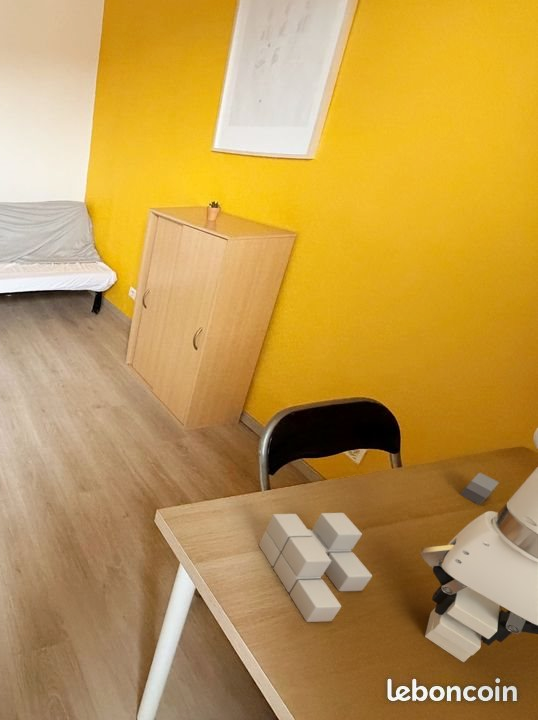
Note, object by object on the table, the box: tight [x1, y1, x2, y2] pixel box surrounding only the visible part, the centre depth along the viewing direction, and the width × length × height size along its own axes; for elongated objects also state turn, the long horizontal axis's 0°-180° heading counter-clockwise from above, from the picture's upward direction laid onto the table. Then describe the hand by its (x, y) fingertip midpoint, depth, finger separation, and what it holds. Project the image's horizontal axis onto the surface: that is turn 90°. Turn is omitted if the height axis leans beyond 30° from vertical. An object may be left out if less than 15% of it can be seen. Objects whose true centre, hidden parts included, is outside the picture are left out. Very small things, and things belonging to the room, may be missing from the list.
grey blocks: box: [460, 472, 500, 506], centre depth 80 cm, size 5×3×4 cm, turn 116°
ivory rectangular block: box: [424, 607, 482, 663], centre depth 58 cm, size 5×4×4 cm
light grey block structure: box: [258, 512, 373, 623], centre depth 64 cm, size 12×12×8 cm
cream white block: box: [447, 587, 501, 639], centre depth 56 cm, size 5×4×2 cm
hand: (462, 620), depth 57 cm, fingers closed on cream white block, 4 cm apart
